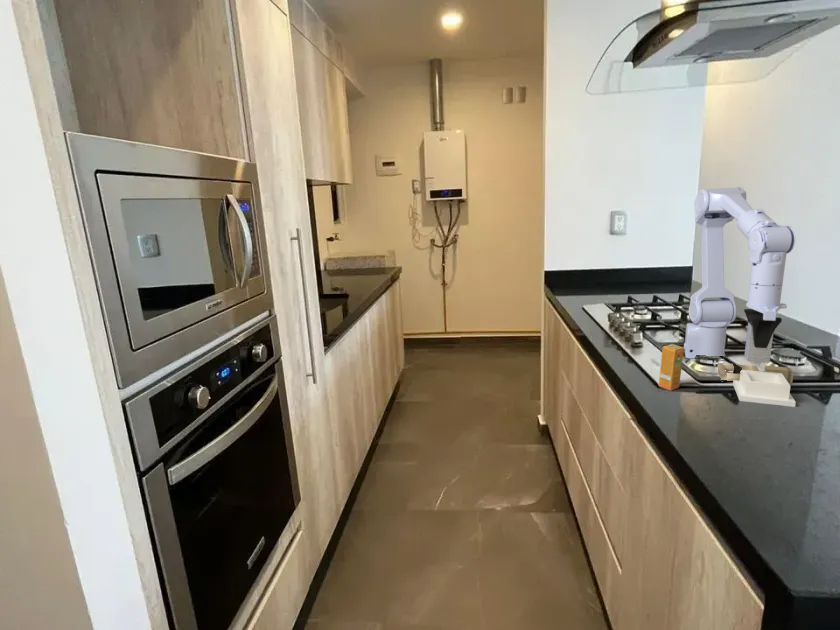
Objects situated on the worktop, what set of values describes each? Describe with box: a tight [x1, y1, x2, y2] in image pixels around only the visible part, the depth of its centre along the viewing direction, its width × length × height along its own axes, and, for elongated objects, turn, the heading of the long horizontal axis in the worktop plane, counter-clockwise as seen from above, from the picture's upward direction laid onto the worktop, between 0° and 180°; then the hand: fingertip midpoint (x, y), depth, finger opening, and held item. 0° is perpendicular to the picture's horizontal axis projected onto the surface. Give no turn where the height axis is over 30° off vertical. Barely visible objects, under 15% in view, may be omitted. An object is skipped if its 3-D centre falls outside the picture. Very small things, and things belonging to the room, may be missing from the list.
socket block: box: [716, 362, 760, 381], centre depth 114 cm, size 8×8×2 cm
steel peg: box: [744, 321, 774, 364], centre depth 105 cm, size 4×4×8 cm
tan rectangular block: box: [763, 365, 795, 385], centre depth 111 cm, size 5×2×3 cm, turn 65°
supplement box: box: [658, 343, 685, 391], centre depth 110 cm, size 3×3×10 cm
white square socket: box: [732, 370, 797, 408], centre depth 104 cm, size 10×10×4 cm
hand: (758, 344), depth 106 cm, fingers closed on steel peg, 4 cm apart
